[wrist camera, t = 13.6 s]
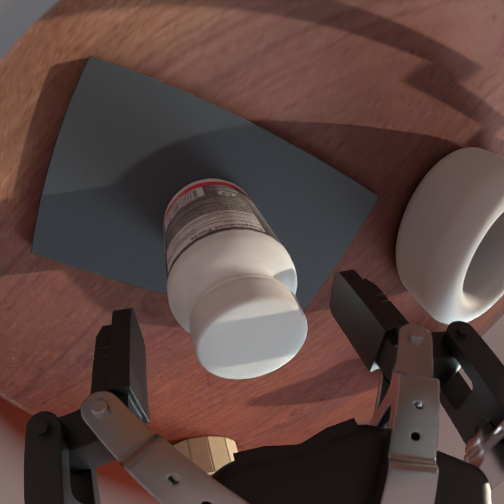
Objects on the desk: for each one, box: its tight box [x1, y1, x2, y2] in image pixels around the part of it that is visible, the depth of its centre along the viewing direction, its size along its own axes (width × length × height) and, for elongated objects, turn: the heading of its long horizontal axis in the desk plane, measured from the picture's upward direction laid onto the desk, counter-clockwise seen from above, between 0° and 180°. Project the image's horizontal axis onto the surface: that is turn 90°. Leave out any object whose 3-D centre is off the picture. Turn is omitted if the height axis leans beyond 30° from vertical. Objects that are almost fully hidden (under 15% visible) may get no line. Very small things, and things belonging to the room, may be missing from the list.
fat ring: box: [396, 147, 504, 324], centre depth 22 cm, size 15×15×7 cm
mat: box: [31, 56, 380, 311], centre depth 19 cm, size 20×12×1 cm, turn 61°
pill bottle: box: [163, 178, 308, 379], centre depth 14 cm, size 5×5×10 cm
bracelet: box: [173, 436, 238, 476], centre depth 33 cm, size 9×9×5 cm
